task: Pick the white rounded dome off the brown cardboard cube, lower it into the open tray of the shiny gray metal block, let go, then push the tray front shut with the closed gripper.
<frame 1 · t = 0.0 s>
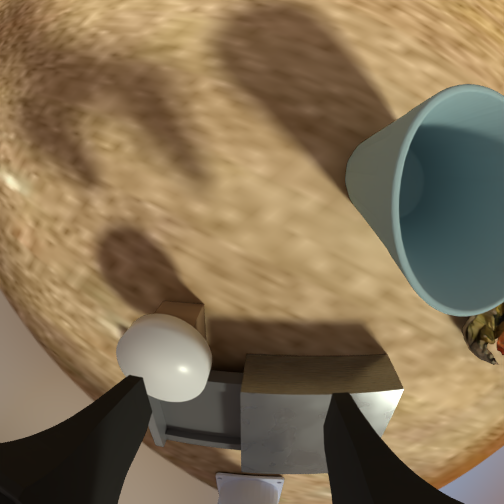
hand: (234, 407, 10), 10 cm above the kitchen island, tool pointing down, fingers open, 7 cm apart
shiny gray metal block: (310, 404, 22), on the kitchen island
brown cardboard cube: (185, 320, 21), on the kitchen island
tray: (206, 417, 21), point 2 cm above the kitchen island, slide at 8.0 cm
cup: (384, 178, 17), on the kitchen island
white rounded dome: (167, 352, 17), point 4 cm above the kitchen island, touching brown cardboard cube
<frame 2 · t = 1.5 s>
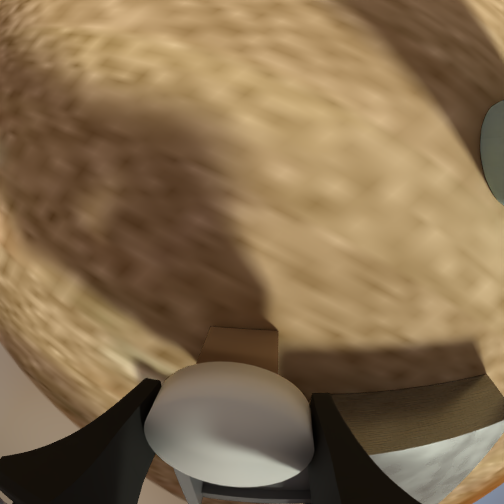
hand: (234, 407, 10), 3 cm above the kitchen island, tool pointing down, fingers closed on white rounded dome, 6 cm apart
shiny gray metal block: (392, 442, 15), on the kitchen island
brown cardboard cube: (243, 355, 13), on the kitchen island
tray: (265, 476, 13), point 2 cm above the kitchen island, slide at 8.0 cm
white rounded dome: (232, 418, 9), point 4 cm above the kitchen island, touching gripper, brown cardboard cube
when the fingers open (3 cm above the kitchen island, at t = 4.8 s): white rounded dome drops 2 cm, resting on tray.
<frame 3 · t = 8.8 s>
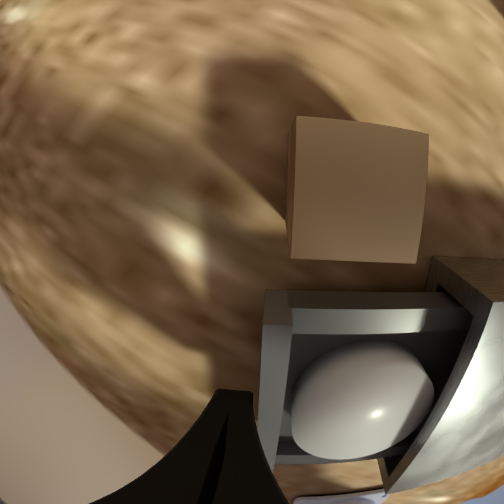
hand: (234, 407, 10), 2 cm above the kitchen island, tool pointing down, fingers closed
shiny gray metal block: (482, 356, 11), on the kitchen island
brown cardboard cube: (330, 180, 10), on the kitchen island
tray: (383, 402, 10), point 2 cm above the kitchen island, slide at 6.5 cm, touching white rounded dome, gripper
white rounded dome: (358, 393, 10), point 1 cm above the kitchen island, touching tray
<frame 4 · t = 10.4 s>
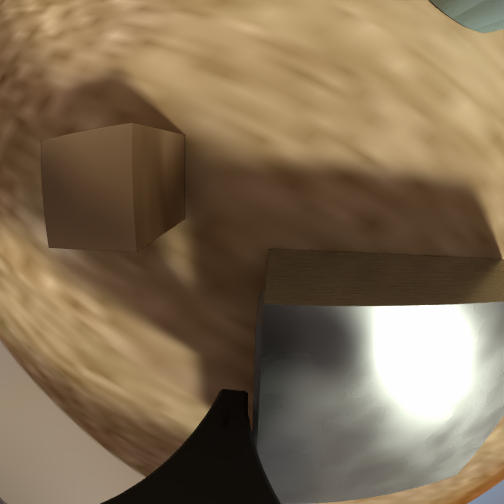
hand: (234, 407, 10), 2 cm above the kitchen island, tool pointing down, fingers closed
shiny gray metal block: (382, 369, 12), on the kitchen island
brown cardboard cube: (146, 178, 10), on the kitchen island
tray: (379, 402, 10), point 2 cm above the kitchen island, slide at 0.2 cm, touching white rounded dome, gripper
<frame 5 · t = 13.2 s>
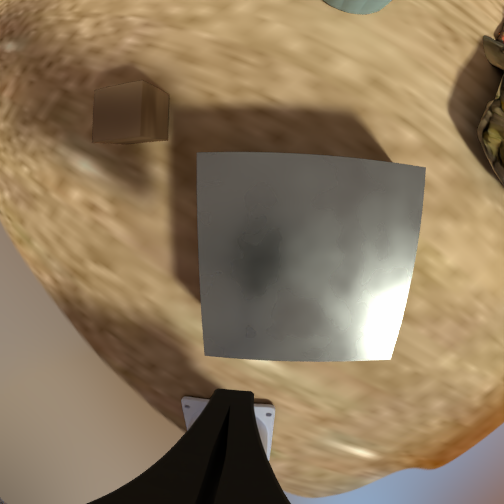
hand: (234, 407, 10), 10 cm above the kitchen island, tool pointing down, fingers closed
shiny gray metal block: (303, 246, 18), on the kitchen island
brown cardboard cube: (146, 119, 16), on the kitchen island
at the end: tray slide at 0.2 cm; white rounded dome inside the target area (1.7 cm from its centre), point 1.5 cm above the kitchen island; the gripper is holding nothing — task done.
